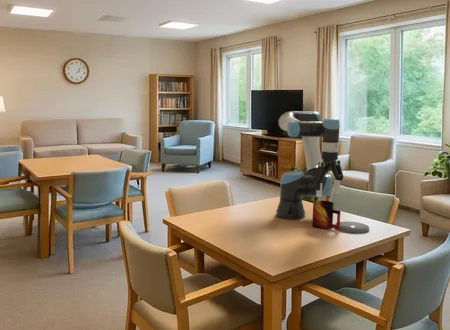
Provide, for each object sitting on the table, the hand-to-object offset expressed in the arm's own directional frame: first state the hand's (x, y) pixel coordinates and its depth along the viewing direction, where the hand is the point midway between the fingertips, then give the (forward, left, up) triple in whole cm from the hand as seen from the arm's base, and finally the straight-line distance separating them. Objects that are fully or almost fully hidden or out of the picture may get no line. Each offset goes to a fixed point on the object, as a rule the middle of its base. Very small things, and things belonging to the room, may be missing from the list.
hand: (327, 195), depth 217 cm
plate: (+9, +8, -16) cm, 20 cm away
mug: (0, 0, -16) cm, 16 cm away
